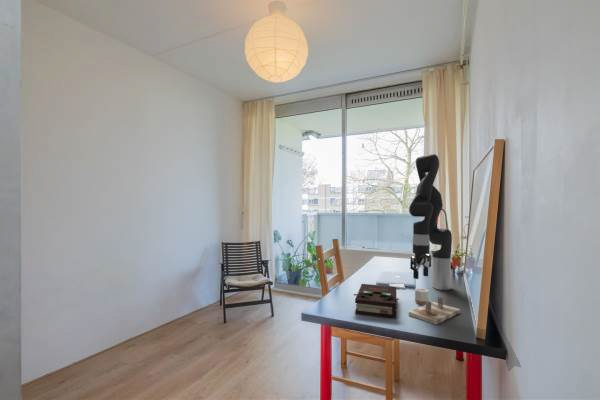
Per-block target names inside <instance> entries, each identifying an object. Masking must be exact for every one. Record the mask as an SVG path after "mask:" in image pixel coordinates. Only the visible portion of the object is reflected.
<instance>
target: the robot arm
mask: <svg viewBox="0 0 600 400" xmlns="http://www.w3.org/2000/svg"><path fill="white" fill-rule="evenodd" d="M415 167H416V171H417V175H418V179H419V183H418V184H417V187H416V190H415V191H416V192H415V196H414V198H413V199H412V201H411V203H410V205H409V214H410V215H411V216H412V217H416V218H417V217H420V218H421V217H422V218H423V219H422V220H419V221H415V222H413V224H412V225H413V230H412V231H413V234H412V253H413V254H414V256H410V263H409V264H410V266H409V268H410V270H412V271H413V276H412V277H413V279H414V280H415V279H416V280H418V279H419V278H420V277H419V274H420V273H419V270H420V268H421V267H422V270H423V271H422V275H423V277H429V269H430V268H431V267H432V271H431V272H432V274H431V276H432V278H431V279H432V283H431V284H432V288H434V289H436V290H441V291H450V290H451V289H452V288H451V287H452V282H451V281H452V276H451V275H452V273H451V272H452V271H451V260H452V259H451V254H452V245H453V235H452V231H451V230H450V229H447V228H438V217H439V216H440V214H441V211H442V210H443V206H444V205H443V199H442V198H443V197H442V195H441V192H440V191H439V190H438V189H437V187H435V186H434V182H435V181H436V178H437V174H438V171H439V170H440V169H439V168H440V159H439V157H438V155H437V154H435V153H434V154H426V155H421V156H417V157H416V159H415ZM430 243H431V244H432V245H439V246H440V248H439V249H436V250H433V251H432V253H431V252H430V250H431V249H430ZM430 253H431V254H432V255H431V254H430Z"/></svg>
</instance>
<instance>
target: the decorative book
mask: <svg viewBox="0 0 600 400" xmlns="http://www.w3.org/2000/svg"><path fill="white" fill-rule="evenodd" d="M353 296H356V297H355V300H354V301H355V307H356V308H355V311H354V314H355V315H359V316H360V315H361V316H369V317H375V318H376V317H379V318H384V319H385V318H387V319H395V320H397V301H399V300H400V298H397V289H396V287H393V286H389V285H379V284H378V285H377V284H370V283H369V284H368V283H361V285H360V287H359V290H358V292H357V293H354V294H353Z"/></svg>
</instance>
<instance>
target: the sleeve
mask: <svg viewBox="0 0 600 400" xmlns="http://www.w3.org/2000/svg"><path fill="white" fill-rule="evenodd" d="M429 292H430V291H429V290H428V289H427V288H423V287H417V288H415V289H414V302H415V304H419V305H422V306H424V305H426V302H430V301H429V299H430V297H429V296H430V294H429Z"/></svg>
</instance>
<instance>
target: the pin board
mask: <svg viewBox="0 0 600 400" xmlns="http://www.w3.org/2000/svg"><path fill="white" fill-rule="evenodd" d="M456 314H457V315H458V314H461V309H460V308H457V307H453V306H449V305H446V304H444V297H442V296H438V297H437V302H434V301H429V302H426V305H422V306H419V307H417V308H415V309H412V310H409V311H408V316H411V317H412V318H417V319H418V320H419V319H420V320H422V321H424V322H427V323H431V324H434V325H439V324H441V323H444V320H445V321H446V319H447V320H448V319H451V318H452V316H453V317H455V316H456ZM454 315H455V316H454Z"/></svg>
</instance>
